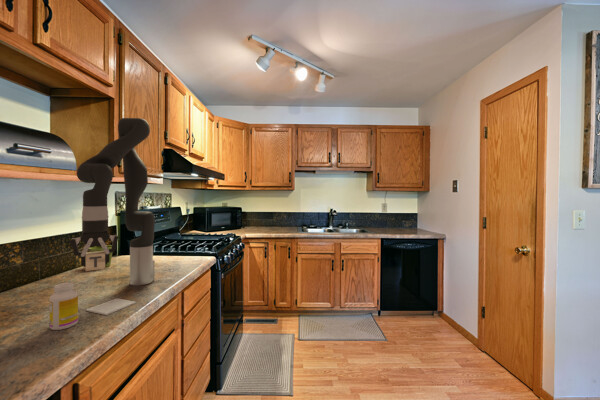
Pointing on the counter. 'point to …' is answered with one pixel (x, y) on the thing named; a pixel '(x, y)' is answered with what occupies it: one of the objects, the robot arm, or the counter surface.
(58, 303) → the supplement bottle
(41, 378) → the counter surface
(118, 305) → the mat
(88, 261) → the tan cube block
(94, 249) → the plant pot
